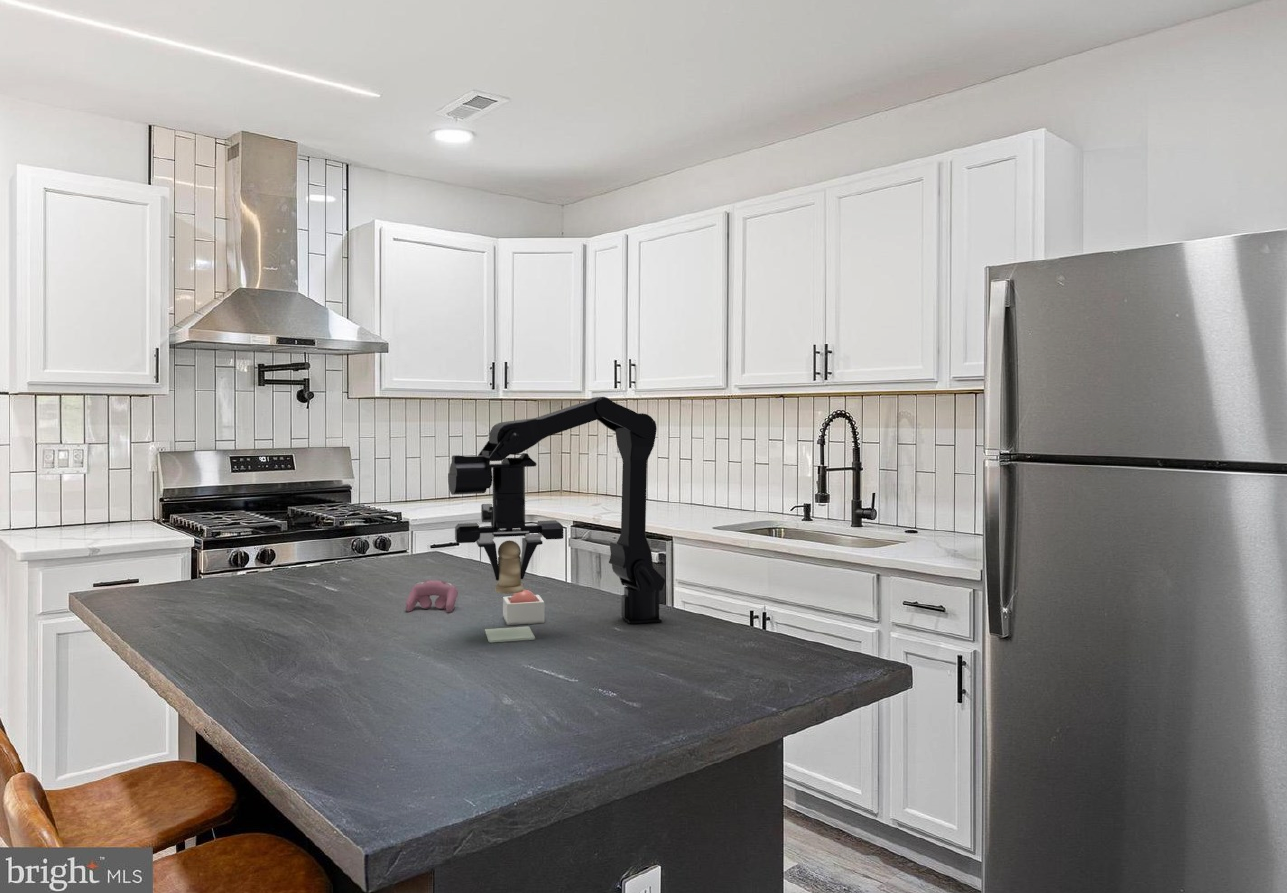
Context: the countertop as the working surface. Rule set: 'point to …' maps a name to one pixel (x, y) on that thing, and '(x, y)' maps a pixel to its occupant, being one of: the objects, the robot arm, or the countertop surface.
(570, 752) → the countertop surface
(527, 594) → the pink rounded piece
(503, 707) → the countertop surface
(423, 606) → the video game controller
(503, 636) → the pad
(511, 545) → the pawn
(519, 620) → the housing
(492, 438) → the robot arm
